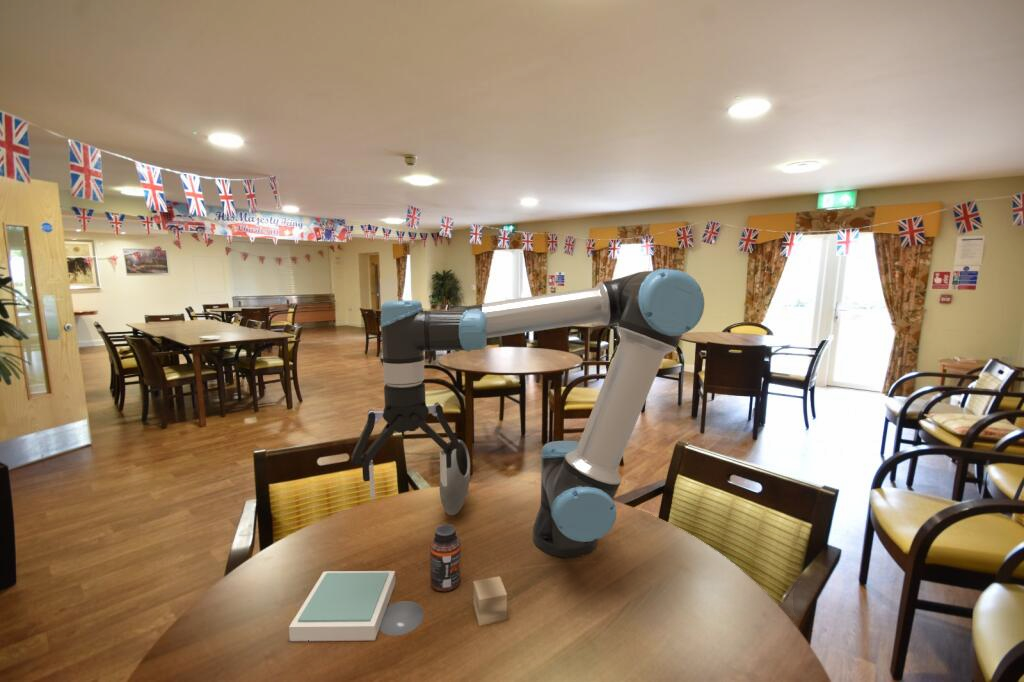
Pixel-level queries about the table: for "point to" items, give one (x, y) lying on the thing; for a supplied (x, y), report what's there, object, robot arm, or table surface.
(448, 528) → the supplement bottle
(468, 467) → the grey hollow oval piece
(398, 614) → the coaster
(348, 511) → the table surface
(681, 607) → the table surface
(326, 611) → the podium
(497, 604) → the oak block
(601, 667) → the table surface
